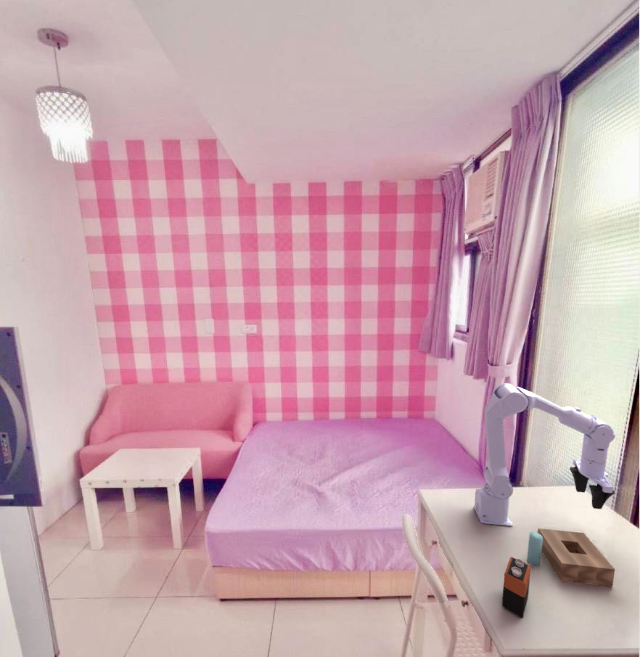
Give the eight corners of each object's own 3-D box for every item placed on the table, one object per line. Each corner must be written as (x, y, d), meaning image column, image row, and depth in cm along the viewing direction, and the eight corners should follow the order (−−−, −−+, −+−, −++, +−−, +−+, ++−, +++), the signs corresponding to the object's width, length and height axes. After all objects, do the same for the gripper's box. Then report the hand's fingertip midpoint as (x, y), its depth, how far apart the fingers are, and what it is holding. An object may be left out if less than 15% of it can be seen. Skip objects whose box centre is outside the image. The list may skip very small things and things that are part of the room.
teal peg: (530, 566, 87) (532, 539, 86) (525, 556, 90) (527, 531, 89) (542, 567, 87) (545, 540, 86) (536, 558, 90) (539, 532, 89)
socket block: (560, 580, 83) (561, 563, 82) (536, 543, 95) (538, 528, 94) (612, 586, 81) (614, 569, 81) (582, 548, 93) (583, 532, 92)
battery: (501, 607, 76) (504, 570, 75) (508, 587, 81) (511, 551, 80) (522, 619, 74) (526, 581, 72) (528, 598, 79) (531, 561, 77)
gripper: (627, 473, 89) (621, 517, 91) (592, 447, 104) (587, 486, 106) (599, 471, 90) (593, 515, 92) (567, 445, 105) (563, 484, 107)
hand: (588, 499), depth 99 cm, fingers open, 7 cm apart
